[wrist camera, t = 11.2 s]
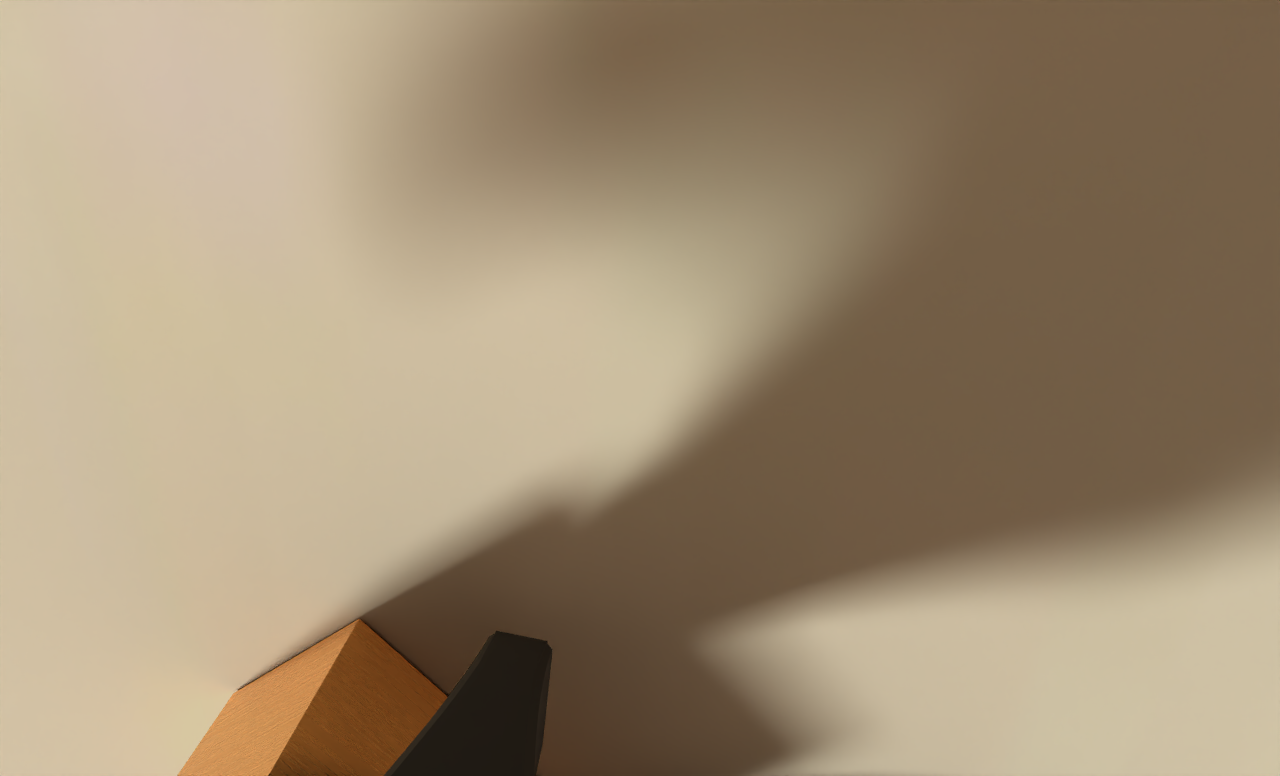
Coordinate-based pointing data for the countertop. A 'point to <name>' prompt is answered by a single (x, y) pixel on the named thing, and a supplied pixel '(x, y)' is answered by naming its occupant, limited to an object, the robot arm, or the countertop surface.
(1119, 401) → the countertop surface
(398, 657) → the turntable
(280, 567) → the countertop surface
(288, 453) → the countertop surface
